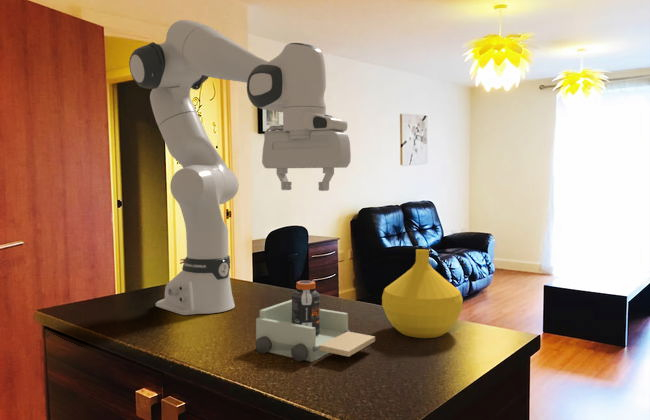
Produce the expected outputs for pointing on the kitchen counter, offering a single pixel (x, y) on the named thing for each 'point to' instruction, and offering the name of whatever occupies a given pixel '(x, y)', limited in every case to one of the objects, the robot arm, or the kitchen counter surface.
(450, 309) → the vase
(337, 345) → the panel
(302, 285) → the pill bottle
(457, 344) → the kitchen counter surface
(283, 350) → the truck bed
